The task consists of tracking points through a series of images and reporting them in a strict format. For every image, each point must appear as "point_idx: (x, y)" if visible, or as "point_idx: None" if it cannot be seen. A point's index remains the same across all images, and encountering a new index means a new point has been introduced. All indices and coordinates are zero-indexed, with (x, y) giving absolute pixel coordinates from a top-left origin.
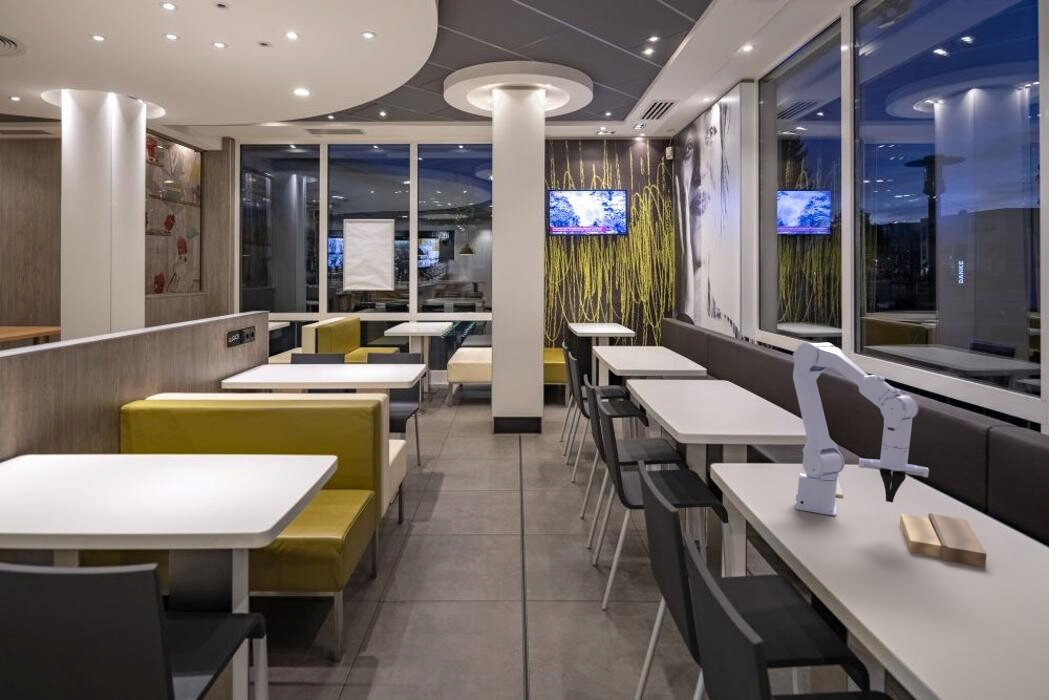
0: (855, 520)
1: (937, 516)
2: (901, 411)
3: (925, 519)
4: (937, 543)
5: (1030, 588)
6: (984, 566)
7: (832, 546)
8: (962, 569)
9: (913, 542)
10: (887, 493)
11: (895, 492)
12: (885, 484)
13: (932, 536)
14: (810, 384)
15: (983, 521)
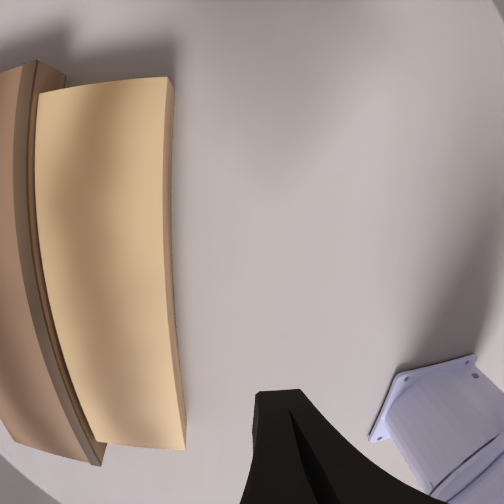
0: (339, 377)
1: (74, 450)
2: None
3: (101, 428)
4: (47, 116)
5: None
6: None
7: (445, 47)
8: (31, 27)
9: (153, 80)
10: (325, 430)
11: (261, 454)
12: (392, 483)
13: (54, 220)
14: None
15: (28, 471)
